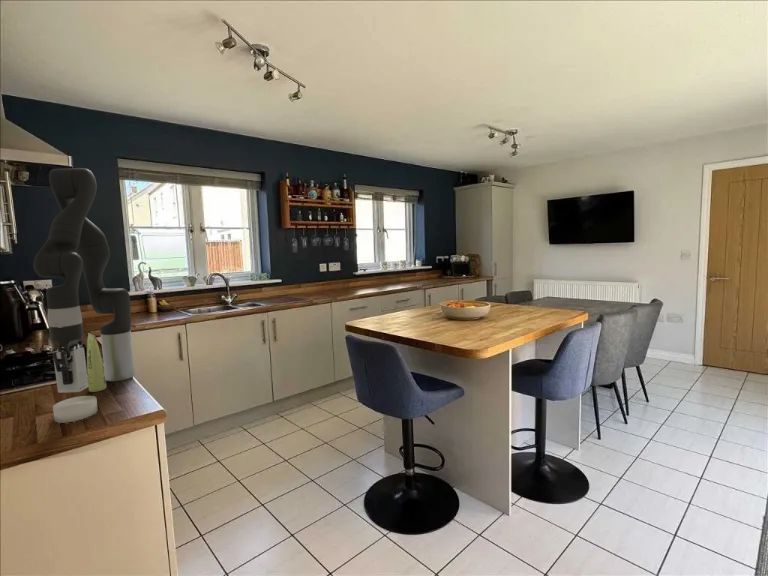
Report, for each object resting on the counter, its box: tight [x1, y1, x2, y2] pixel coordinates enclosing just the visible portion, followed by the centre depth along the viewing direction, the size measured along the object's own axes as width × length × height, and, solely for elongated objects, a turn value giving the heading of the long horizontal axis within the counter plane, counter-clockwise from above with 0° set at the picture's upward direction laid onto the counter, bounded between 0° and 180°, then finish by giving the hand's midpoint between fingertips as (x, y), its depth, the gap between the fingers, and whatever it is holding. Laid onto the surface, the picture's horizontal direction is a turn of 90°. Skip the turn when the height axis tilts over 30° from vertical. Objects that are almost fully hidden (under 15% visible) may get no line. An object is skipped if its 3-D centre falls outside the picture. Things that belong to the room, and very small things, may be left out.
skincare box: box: [53, 347, 89, 394], centre depth 114 cm, size 6×4×12 cm
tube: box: [86, 332, 108, 393], centre depth 135 cm, size 6×5×20 cm
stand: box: [52, 395, 99, 424], centre depth 116 cm, size 10×10×4 cm
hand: (72, 380), depth 115 cm, fingers closed on skincare box, 5 cm apart
